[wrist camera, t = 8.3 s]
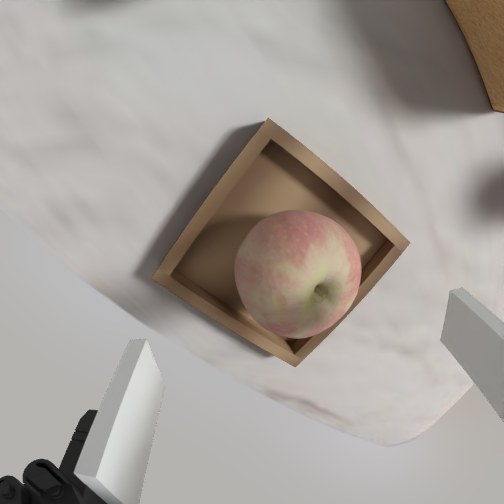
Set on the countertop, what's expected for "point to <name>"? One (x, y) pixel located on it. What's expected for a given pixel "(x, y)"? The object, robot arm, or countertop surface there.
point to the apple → (297, 273)
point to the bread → (484, 41)
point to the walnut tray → (253, 211)
